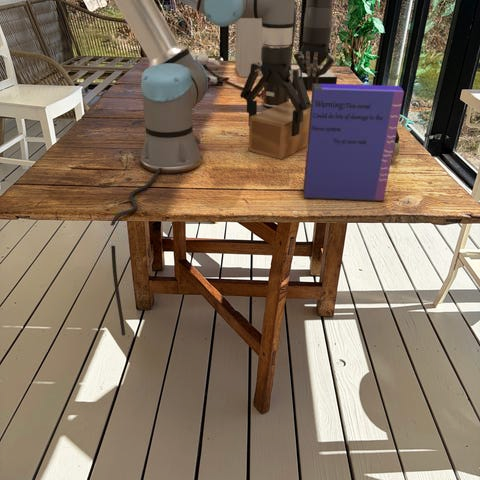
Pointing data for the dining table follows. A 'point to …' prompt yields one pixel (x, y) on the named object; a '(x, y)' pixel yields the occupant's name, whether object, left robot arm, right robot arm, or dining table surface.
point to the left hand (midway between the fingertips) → (273, 130)
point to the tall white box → (248, 45)
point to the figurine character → (396, 146)
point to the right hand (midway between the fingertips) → (311, 89)
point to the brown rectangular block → (277, 131)
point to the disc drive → (323, 79)
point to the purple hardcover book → (351, 141)
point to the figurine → (217, 79)
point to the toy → (204, 59)
